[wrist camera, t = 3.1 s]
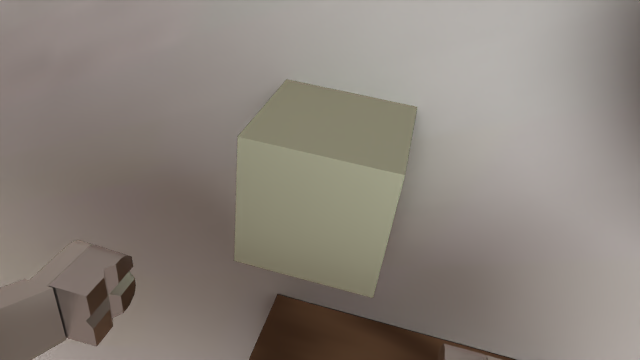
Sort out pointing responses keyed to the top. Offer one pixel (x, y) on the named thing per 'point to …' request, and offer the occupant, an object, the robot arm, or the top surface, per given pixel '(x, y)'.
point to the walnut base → (339, 337)
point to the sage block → (321, 184)
